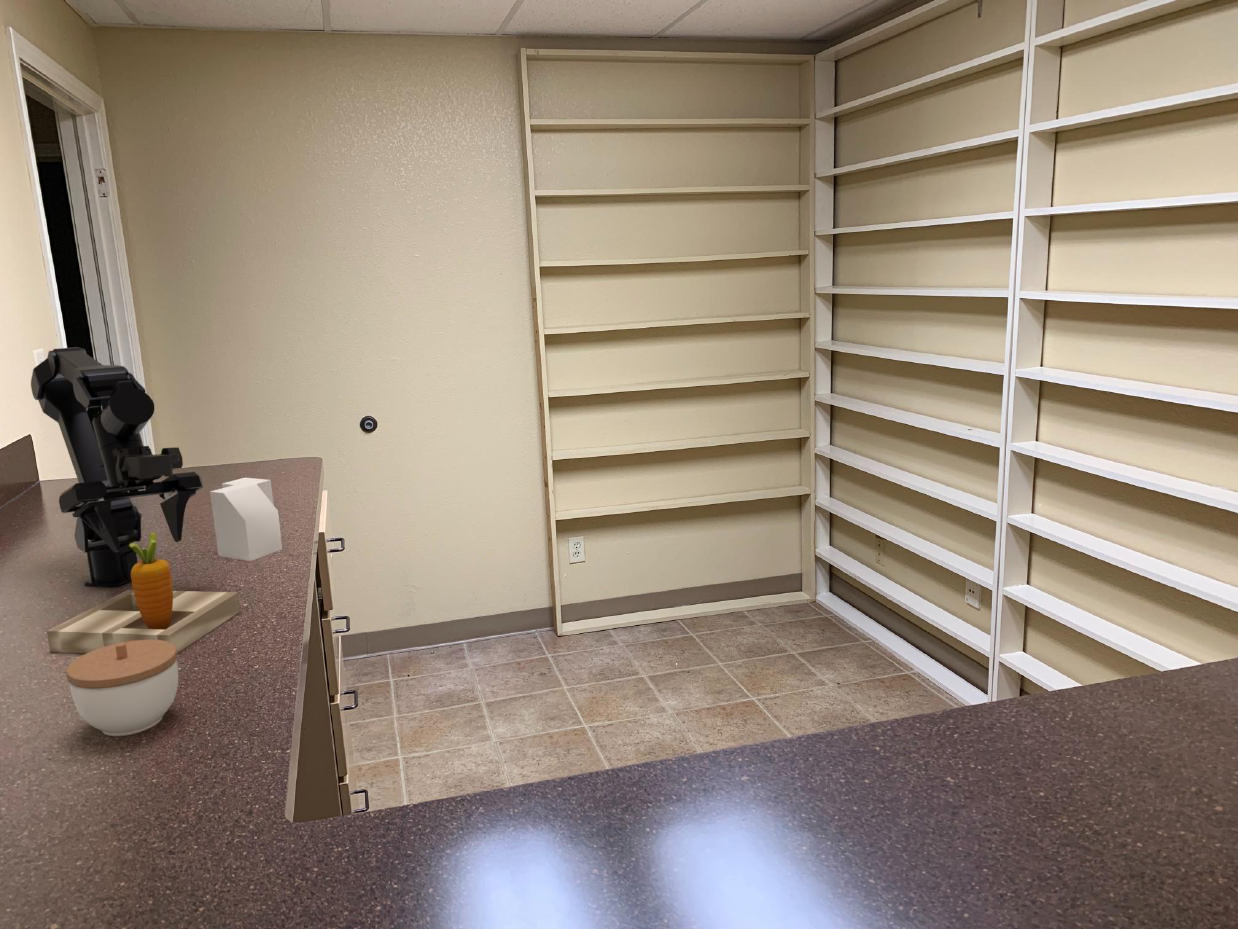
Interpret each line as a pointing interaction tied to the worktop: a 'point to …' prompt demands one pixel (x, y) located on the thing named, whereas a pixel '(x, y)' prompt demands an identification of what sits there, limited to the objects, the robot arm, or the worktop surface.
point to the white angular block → (246, 519)
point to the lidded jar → (125, 685)
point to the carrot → (152, 586)
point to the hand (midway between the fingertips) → (148, 546)
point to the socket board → (125, 622)
